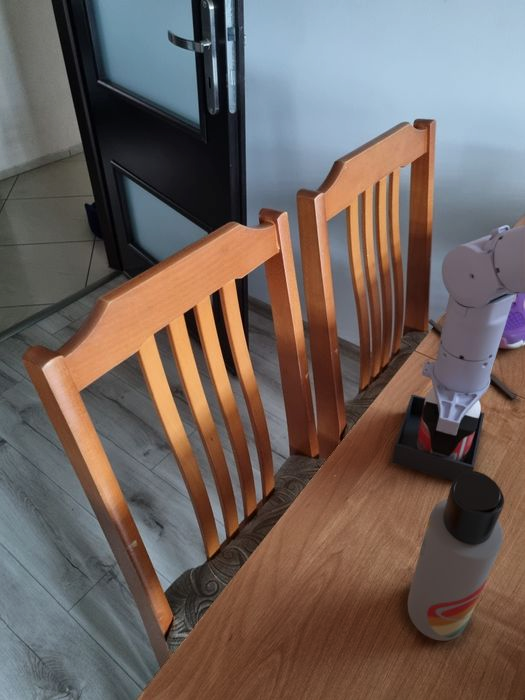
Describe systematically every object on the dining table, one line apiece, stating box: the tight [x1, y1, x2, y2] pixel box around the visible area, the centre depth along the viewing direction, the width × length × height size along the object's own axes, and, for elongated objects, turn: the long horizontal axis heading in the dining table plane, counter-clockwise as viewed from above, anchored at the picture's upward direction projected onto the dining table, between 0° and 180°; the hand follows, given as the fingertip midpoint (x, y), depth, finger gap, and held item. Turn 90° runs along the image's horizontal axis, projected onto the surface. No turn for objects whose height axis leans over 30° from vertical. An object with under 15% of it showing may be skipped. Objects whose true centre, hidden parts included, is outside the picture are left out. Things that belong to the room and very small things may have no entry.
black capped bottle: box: [407, 470, 505, 642], centre depth 47 cm, size 6×6×20 cm
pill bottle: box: [417, 388, 482, 462], centre depth 65 cm, size 6×6×11 cm
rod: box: [428, 318, 517, 401], centre depth 81 cm, size 1×19×1 cm
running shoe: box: [498, 293, 525, 350], centre depth 86 cm, size 10×23×10 cm, turn 155°
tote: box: [391, 394, 485, 482], centre depth 68 cm, size 9×9×3 cm
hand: (446, 430), depth 66 cm, fingers closed on pill bottle, 6 cm apart
